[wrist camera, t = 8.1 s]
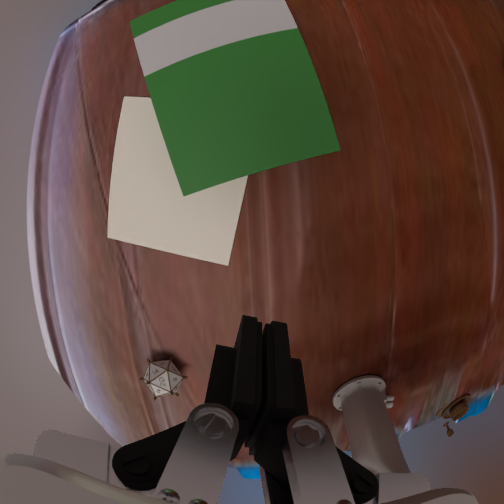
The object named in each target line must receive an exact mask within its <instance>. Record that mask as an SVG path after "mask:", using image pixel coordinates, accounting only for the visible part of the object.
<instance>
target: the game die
mask: <svg viewBox="0 0 504 504" xmlns="http://www.w3.org/2000/svg"><path fill="white" fill-rule="evenodd" d="M172 358H173V357H172V356H171V357H170V360H162V361H154V362H150V360H149V359H147V361H148V362H149V365H148V367H147V370H146V372H145V375H144V377H143V378H140V380H144V381H145V383H146V384H147V386H148V387H149V389H150V390H151V391H152V393H153V394H154V396H155V397H154V401H155V400H156V399H157V398H156V397H160V396H166V395H173V394H176V396H179V394H178V393H177V391H178V389H179V387H180V385H181V383H182V381H183V378H186V379H187V378H188V377H187V376H184V377H183V375H182V374H181V373H180V371H179V370H178V369H177V367H176V366H175V365H174V363H173V362H172V361H171V360H172Z"/></svg>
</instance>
